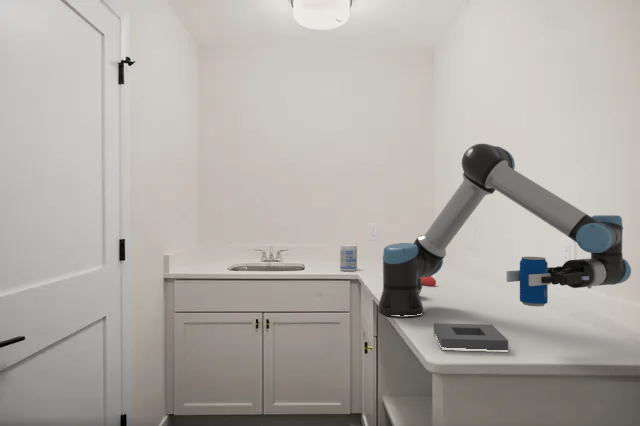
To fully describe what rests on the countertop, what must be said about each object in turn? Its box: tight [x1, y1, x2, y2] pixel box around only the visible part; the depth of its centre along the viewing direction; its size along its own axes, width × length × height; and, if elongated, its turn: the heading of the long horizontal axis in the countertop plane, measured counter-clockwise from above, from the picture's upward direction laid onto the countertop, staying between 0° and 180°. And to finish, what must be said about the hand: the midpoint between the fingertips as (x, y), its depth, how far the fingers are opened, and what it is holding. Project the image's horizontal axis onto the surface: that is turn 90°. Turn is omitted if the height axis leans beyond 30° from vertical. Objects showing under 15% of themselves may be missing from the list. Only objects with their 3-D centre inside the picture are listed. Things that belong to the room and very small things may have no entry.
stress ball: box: [421, 275, 437, 287], centre depth 217 cm, size 5×9×6 cm, turn 17°
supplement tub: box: [339, 244, 358, 272], centre depth 269 cm, size 10×10×15 cm
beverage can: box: [519, 256, 549, 307], centre depth 119 cm, size 6×6×12 cm
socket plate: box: [433, 322, 509, 351], centre depth 123 cm, size 16×16×3 cm
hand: (518, 278), depth 117 cm, fingers closed on beverage can, 6 cm apart
